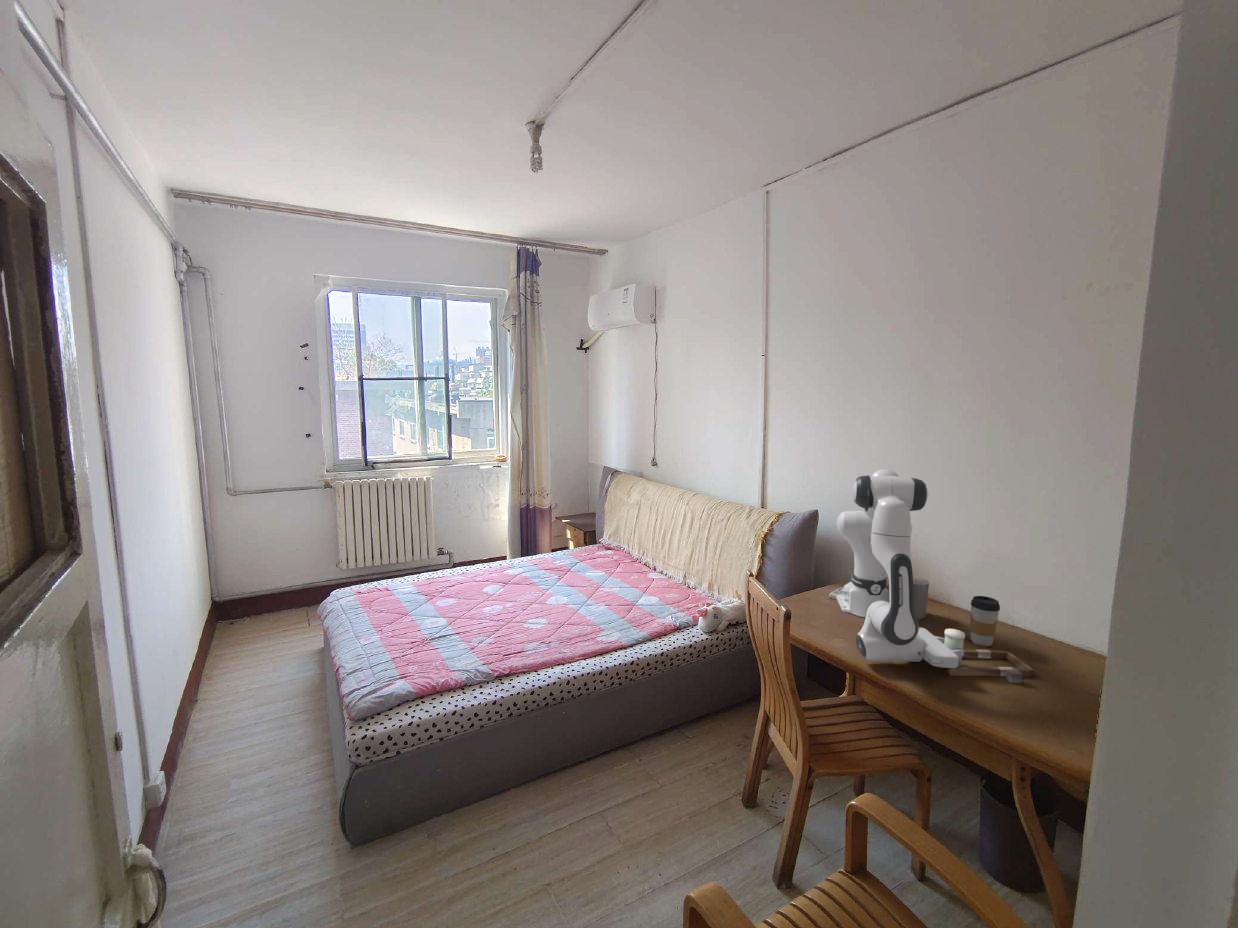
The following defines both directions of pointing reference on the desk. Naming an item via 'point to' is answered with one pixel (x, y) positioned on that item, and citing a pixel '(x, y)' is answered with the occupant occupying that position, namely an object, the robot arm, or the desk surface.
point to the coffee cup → (983, 620)
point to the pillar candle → (920, 596)
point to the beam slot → (1011, 673)
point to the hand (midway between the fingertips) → (956, 646)
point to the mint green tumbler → (954, 640)
